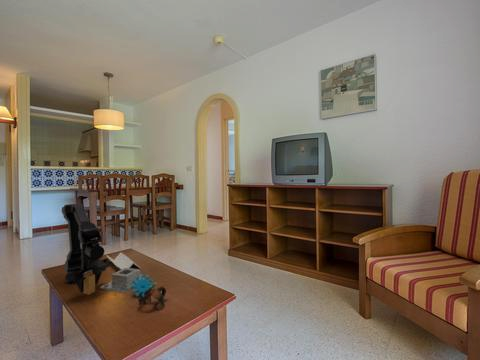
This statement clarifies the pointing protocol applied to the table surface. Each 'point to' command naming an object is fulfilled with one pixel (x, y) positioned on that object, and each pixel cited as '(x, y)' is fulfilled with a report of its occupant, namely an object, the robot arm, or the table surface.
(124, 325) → the table surface
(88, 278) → the wedge pin
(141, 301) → the dark brown loop tangle
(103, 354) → the table surface
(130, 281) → the bracket collar
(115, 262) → the z bracket
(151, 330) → the table surface
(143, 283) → the gear
